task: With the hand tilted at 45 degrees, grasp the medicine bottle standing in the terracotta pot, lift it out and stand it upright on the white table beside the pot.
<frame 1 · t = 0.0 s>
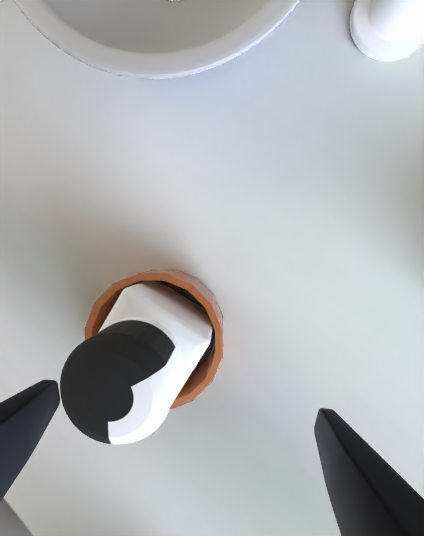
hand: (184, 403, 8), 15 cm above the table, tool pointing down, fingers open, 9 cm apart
terracotta pot: (166, 326, 24), on the table
medicine bottle: (166, 325, 24), resting in terracotta pot
candle: (388, 23, 22), on the table
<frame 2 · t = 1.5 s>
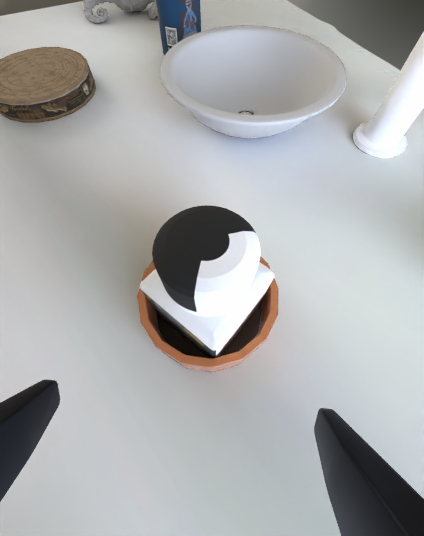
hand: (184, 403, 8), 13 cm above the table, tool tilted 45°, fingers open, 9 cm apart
soda can: (183, 61, 45), on the table
brown round flat disc: (47, 94, 41), on the table
terracotta pot: (209, 308, 24), on the table
seahorse: (132, 15, 55), on the table
medicine bottle: (209, 309, 24), resting in terracotta pot
soup bowl: (245, 117, 38), on the table
candle: (377, 142, 35), on the table
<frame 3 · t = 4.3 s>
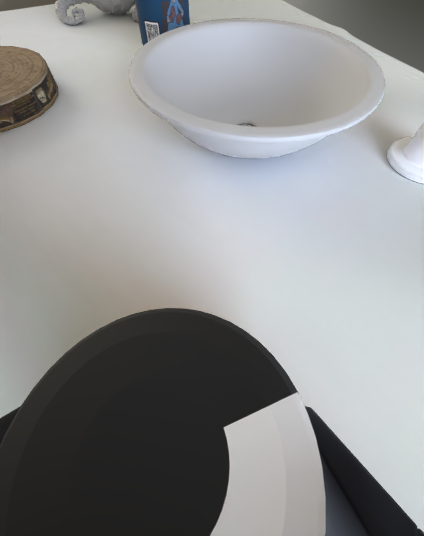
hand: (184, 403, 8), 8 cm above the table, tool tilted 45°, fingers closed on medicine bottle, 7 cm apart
soda can: (169, 65, 38), on the table
seahorse: (113, 17, 48), on the table
medicine bottle: (191, 440, 14), resting in terracotta pot, touching gripper
soup bowl: (245, 131, 29), on the table
candle: (419, 164, 27), on the table
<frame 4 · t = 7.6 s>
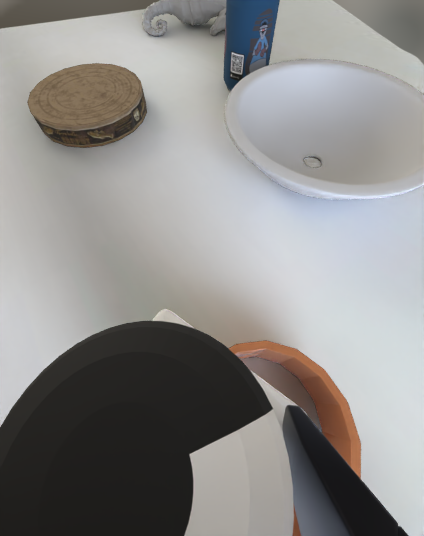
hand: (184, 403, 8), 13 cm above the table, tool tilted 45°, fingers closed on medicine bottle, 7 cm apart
soda can: (243, 87, 41), on the table
brown round flat disc: (95, 114, 38), on the table
terracotta pot: (256, 424, 19), on the table
seahorse: (192, 29, 51), on the table
medicine bottle: (193, 423, 15), point 5 cm above the table, touching gripper
soup bowl: (311, 164, 33), on the table
when the fingers open (8 cm above the table, at t = 10.9 s): medicine bottle stays where it is, on the table.
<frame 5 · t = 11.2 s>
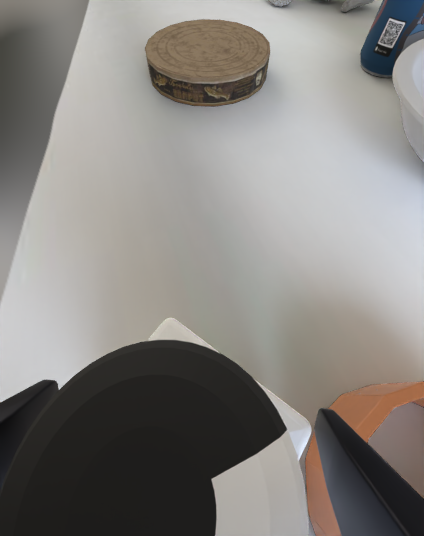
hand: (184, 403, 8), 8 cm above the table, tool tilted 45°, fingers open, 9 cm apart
soda can: (380, 68, 35), on the table
brown round flat disc: (208, 74, 34), on the table
terracotta pot: (410, 500, 13), on the table
seahorse: (318, 4, 46), on the table
medicine bottle: (193, 426, 15), on the table
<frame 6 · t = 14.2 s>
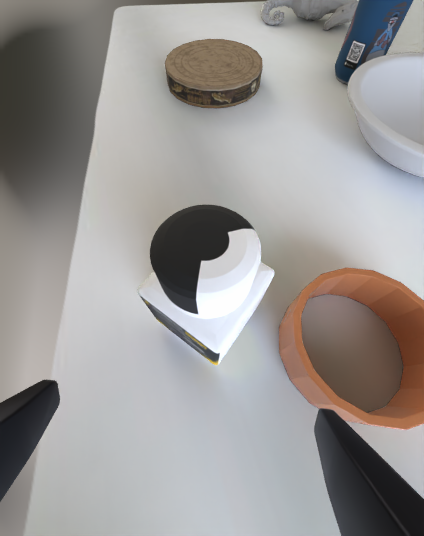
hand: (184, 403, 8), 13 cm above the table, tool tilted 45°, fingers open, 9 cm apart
soda can: (351, 78, 43), on the table
brown round flat disc: (213, 83, 43), on the table
terracotta pot: (342, 347, 22), on the table
seahorse: (304, 22, 54), on the table
medicine bottle: (208, 311, 23), on the table
soup bowl: (413, 152, 34), on the table
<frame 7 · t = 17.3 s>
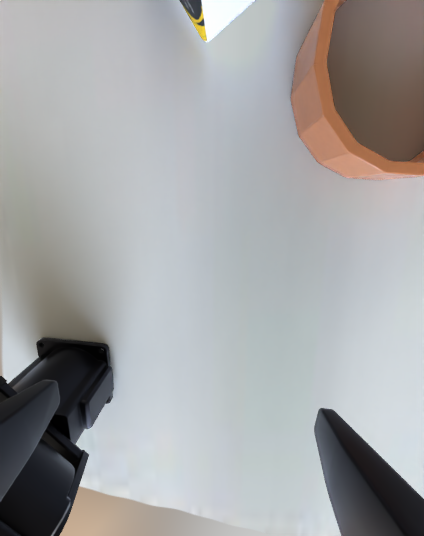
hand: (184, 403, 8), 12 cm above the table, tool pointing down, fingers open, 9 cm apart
terracotta pot: (384, 82, 15), on the table
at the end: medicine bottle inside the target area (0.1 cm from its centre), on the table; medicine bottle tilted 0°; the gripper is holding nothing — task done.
